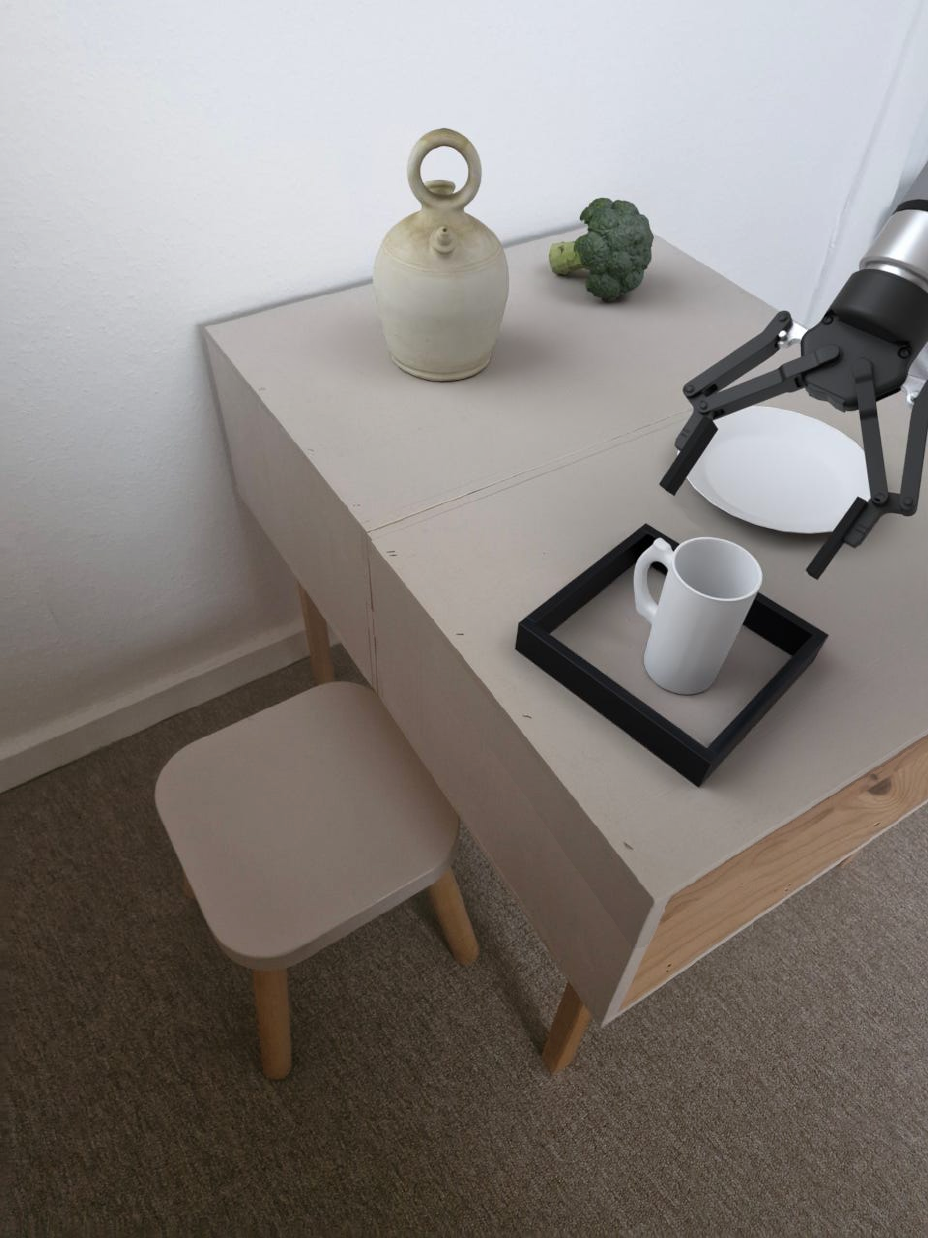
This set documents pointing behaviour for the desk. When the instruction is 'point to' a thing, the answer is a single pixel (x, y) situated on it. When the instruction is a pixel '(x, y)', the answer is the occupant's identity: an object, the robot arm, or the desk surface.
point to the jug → (441, 274)
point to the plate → (781, 470)
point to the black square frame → (625, 706)
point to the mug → (695, 609)
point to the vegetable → (608, 248)
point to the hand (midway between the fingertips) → (735, 531)
